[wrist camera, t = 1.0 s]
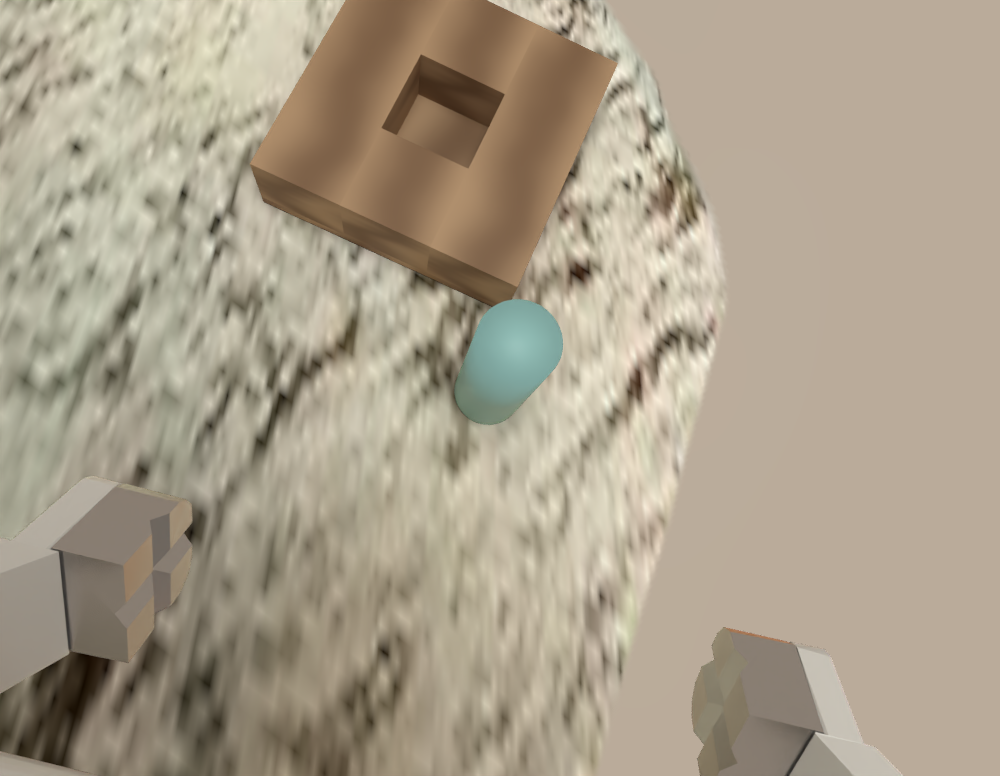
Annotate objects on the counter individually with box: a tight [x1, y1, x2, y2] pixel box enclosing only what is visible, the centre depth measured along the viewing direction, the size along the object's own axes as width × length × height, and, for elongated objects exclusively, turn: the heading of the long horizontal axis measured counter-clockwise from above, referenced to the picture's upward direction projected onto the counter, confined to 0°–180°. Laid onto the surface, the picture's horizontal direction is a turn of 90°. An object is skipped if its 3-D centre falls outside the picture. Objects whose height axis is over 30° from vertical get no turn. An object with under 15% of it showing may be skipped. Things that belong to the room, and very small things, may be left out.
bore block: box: [250, 0, 618, 307], centre depth 44 cm, size 16×16×4 cm
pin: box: [454, 299, 563, 425], centre depth 38 cm, size 4×4×11 cm
